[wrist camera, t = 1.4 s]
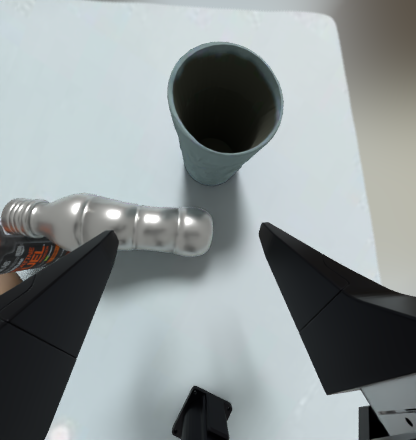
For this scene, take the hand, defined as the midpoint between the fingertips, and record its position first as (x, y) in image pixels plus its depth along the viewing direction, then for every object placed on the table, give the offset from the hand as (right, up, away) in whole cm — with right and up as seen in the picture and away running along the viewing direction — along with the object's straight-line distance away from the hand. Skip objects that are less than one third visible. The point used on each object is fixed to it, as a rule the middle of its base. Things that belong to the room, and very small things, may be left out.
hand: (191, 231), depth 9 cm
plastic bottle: (+1, -1, +12) cm, 12 cm away
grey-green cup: (+2, +10, +15) cm, 19 cm away
